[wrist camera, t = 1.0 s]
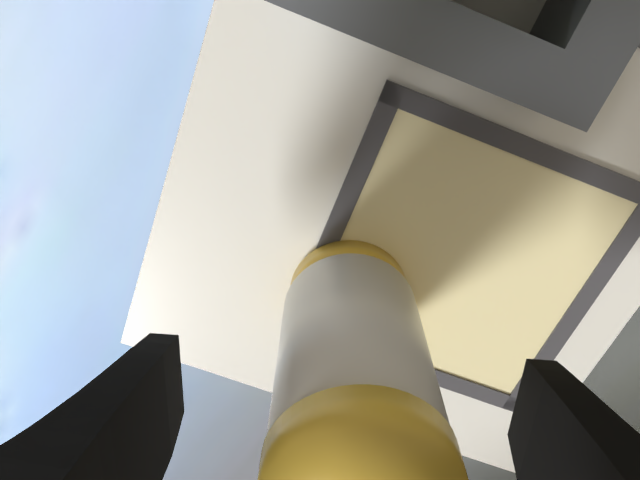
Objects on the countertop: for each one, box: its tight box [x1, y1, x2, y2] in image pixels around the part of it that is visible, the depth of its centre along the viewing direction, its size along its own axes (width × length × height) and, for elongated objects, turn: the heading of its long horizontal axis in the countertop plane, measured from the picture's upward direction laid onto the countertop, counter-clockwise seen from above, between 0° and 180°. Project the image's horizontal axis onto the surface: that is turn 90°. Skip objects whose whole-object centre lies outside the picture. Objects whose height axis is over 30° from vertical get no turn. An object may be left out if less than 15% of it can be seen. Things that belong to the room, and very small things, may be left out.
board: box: [121, 0, 640, 473], centre depth 14 cm, size 18×13×1 cm
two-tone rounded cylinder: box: [258, 240, 468, 480], centre depth 12 cm, size 4×4×7 cm
